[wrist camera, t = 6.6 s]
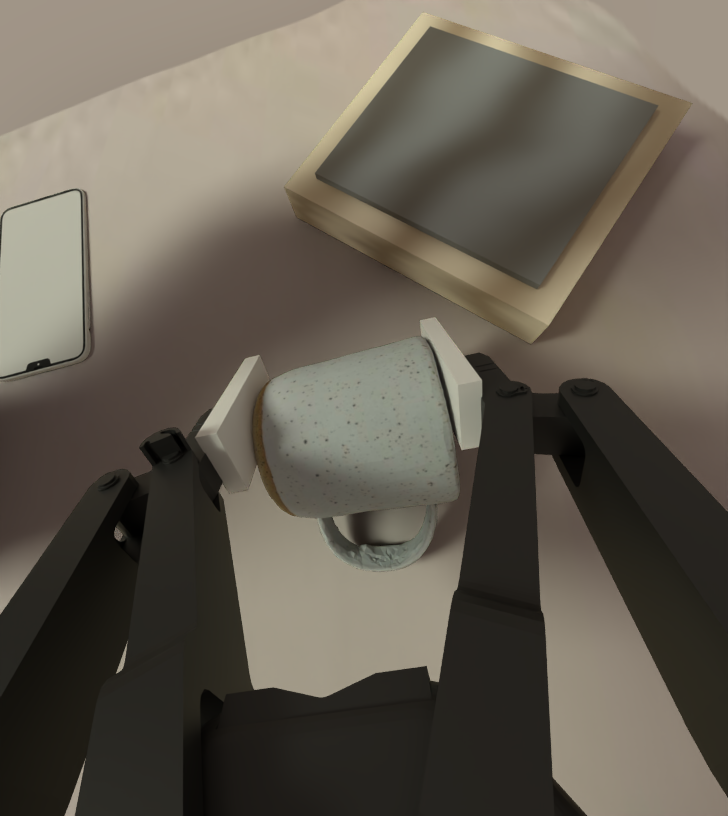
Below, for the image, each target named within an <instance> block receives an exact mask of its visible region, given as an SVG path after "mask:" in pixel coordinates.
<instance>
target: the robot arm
mask: <svg viewBox="0 0 728 816" xmlns="http://www.w3.org/2000/svg"><path fill="white" fill-rule="evenodd" d="M420 329H421V337H424V338H425V340H426V341H427V343H428V345H429V346H430V348H431V350H432V353H433V356H434V359H435V363H436V367H437V371H438V375H439V379H440V382H441V386H442V389H443V394H444V397H445V400H446V406H447V410H448V414H449V419H450V423H451V426H452V430H453V432H454V434H455V436H456V438H457V440H458V443H459V445H460V447H461V449H462V450H466V449H471V448H476V447H479V449H478V456H477V463H476V470H475V477H474V483H473V490H472V497H471V504H470V511H469V517H468V524H467V531H466V538H465V545H464V551H463V558H462V565H461V572H460V579H459V584H458V588H457V590H456V591H455V592H454V595H453V598H452V604H451V609H450V615H449V621H448V628H447V634H446V640H445V647H444V653H443V659H442V666H441V672H440V679H439V682H435V681H430V678H429V674H428V670H427V666H424V667H417V668H410V669H402V670H395V671H388V672H381V673H375V674H373V675H371V676H369V677H367V678H365V679H363V680H361V681H358V682H356V683H354V684H352V685H350V686H348V687H346V688H344V689H342V690H340V691H338V692H336V693H333V694H331V695H329V696H327V697H323V698H319V697H314V696H309V695H305V694H300V693H296V692H291V691H287V690H282V689H278V688H266V689H259V690H254V689H253V686H252V683H251V679H250V674H249V668H248V661H247V654H246V648H245V641H244V634H243V627H242V621H241V614H240V607H239V601H238V594H237V587H236V580H235V574H234V567H233V560H232V553H231V547H230V540H229V533H228V527H227V520H226V513H225V506H224V500H223V498H222V496H221V495H220V493H219V489H220V487H221V485H222V483H223V485H224V486H225V488H226V489H227V491H228V493H235V492H240V491H245V490H248V489H249V486H250V483H251V480H252V477H253V474H254V471H255V468H256V465H257V461H256V458H255V452H254V445H253V436H252V420H253V412H254V408H255V404H256V400H257V397H258V395H259V393H260V391H261V389H262V388H263V387H264V385H265V384H266V383H267V382H269V381H270V379H269V376H268V374H267V371H266V369H265V366H264V364H263V361H262V359H261V357H260V355H257V356H253V357H248V358H245V360H244V361H243V363H242V364H241V366H240V367H239V369H238V371H237V372H236V374H235V375H234V377H233V378H232V380H231V382H230V383H229V385H228V386H227V388H226V390H225V391H224V393H223V394H222V396H221V397H220V399H219V401H218V402H217V404H216V405H215V407H214V408H213V409H209V410H208V411H207V412H206V413H205V414H204V415H202V416H201V417H200V419H199V420H198V422H197V423H196V426H194V428H193V429H192V432H190V434H189V435H188V437H187V438H186V439H185V438H184V436H183V435H182V433H181V431H180V430H179V429H178V428H167V429H164V430H161V431H159V432H157V433H155V434H153V435H151V436H150V437H148V438H147V439H146V440H145V441H144V442H143V443H142V444H141V445H140V447H139V448H140V450H141V451H142V452H143V454H144V455H145V456H146V458H147V459H148V460H149V462H150V463H151V465H152V466H153V467H152V471H150V472H148V473H145V474H143V475H140V476H137V477H135V478H134V477H133V476H132V474H131V473H130V472H129V471H128V470H126V469H120V470H116V471H113V472H110V473H107V474H105V476H104V475H103V476H102V477H100V478H99V480H97V481H96V482H95V483H93V485H92V486H91V487H90V488H89V489H88V490H87V492H86V493H85V495H84V496H83V498H82V499H81V500H80V502H79V503H78V505H77V506H76V507H75V509H74V510H73V512H72V513H71V515H70V516H69V517H68V519H67V520H66V522H65V523H64V525H63V526H62V527H61V529H60V530H59V532H58V533H57V535H56V536H55V537H54V539H53V540H52V542H51V543H50V545H49V546H48V547H47V549H46V550H45V552H44V553H43V555H42V556H41V557H40V559H39V560H38V562H37V563H36V565H35V566H34V567H33V569H32V570H31V572H30V573H29V575H28V576H27V577H26V579H25V580H24V582H23V583H22V585H21V586H20V587H19V589H18V590H17V592H16V593H15V595H14V596H13V597H12V599H11V600H10V602H9V603H8V605H7V606H6V607H5V609H4V610H3V612H2V613H1V615H0V816H64V815H65V813H66V810H67V808H68V805H69V803H70V800H71V797H72V794H73V792H74V789H75V786H76V783H77V781H78V778H79V775H80V772H81V769H82V767H83V764H84V761H85V765H84V771H83V776H82V781H81V786H80V792H79V797H78V802H77V807H76V813H75V816H587V815H586V814H585V813H584V812H583V811H582V810H581V808H580V807H579V806H578V805H577V804H576V803H575V802H574V801H573V800H572V798H571V797H570V796H569V795H568V794H567V793H566V792H565V791H564V790H563V789H562V787H561V786H560V785H559V784H558V783H557V782H556V781H555V780H554V779H553V777H552V758H551V738H550V718H549V697H548V677H547V657H546V637H545V623H544V616H543V613H542V611H541V606H540V585H539V561H538V537H537V512H536V488H535V464H534V454H545V455H552V457H553V459H554V461H555V463H556V465H557V467H558V469H559V471H560V473H561V475H562V477H563V479H564V481H565V483H566V485H567V487H568V489H569V491H570V493H571V495H572V497H573V499H574V501H575V503H576V505H577V507H578V509H579V511H580V513H581V515H582V517H583V519H584V521H585V523H586V525H587V527H588V529H589V531H590V533H591V535H592V537H593V539H594V541H595V543H596V545H597V547H598V549H599V551H600V553H601V555H602V557H603V559H604V561H605V563H606V565H607V567H608V569H609V571H610V573H611V575H612V577H613V580H614V582H615V584H616V586H617V588H618V590H619V592H620V594H621V596H622V598H623V600H624V602H625V604H626V606H627V608H628V610H629V612H630V614H631V616H632V618H633V620H634V622H635V624H636V626H637V628H638V630H639V632H640V634H641V636H642V638H643V640H644V642H645V644H646V646H647V648H648V650H649V652H650V654H651V656H652V658H653V660H654V662H655V664H656V666H657V668H658V670H659V672H660V674H661V676H662V678H663V680H664V682H665V684H666V686H667V688H668V690H669V692H670V694H671V696H672V698H673V700H674V702H675V704H676V706H677V708H678V710H679V712H680V714H681V716H682V718H683V720H684V722H685V724H686V726H687V728H688V730H689V732H690V734H691V736H692V737H693V739H694V741H695V743H696V745H697V746H698V748H699V750H700V752H701V754H702V756H703V757H704V759H705V761H706V763H707V765H708V767H709V768H710V770H711V772H712V773H713V775H714V777H715V778H716V780H717V781H718V783H719V784H720V786H721V788H722V789H723V791H724V792H725V794H726V795H727V797H728V512H727V511H726V510H725V509H724V508H723V507H722V506H721V504H720V503H719V502H718V501H717V500H716V499H715V498H714V497H713V496H712V495H711V494H710V493H709V492H708V491H707V490H706V489H705V488H704V486H703V485H702V484H701V483H700V482H699V481H698V480H697V479H696V478H695V477H694V476H693V475H692V474H691V473H690V472H689V471H688V470H687V468H686V467H685V466H684V465H683V464H682V463H681V462H680V461H679V460H678V459H677V458H676V457H675V456H674V455H673V454H672V453H671V452H670V450H669V449H668V448H667V447H666V446H665V445H664V444H663V443H662V442H661V441H660V440H659V439H658V438H657V437H656V436H655V435H654V434H653V432H652V431H651V430H650V429H649V428H648V427H647V426H646V425H645V424H644V423H643V422H642V421H641V420H640V419H639V418H638V417H637V416H636V414H635V413H634V412H633V411H632V410H631V409H630V408H629V407H628V406H627V405H626V404H625V403H624V402H623V401H622V400H621V399H620V398H619V396H618V395H617V394H616V393H615V392H614V391H613V390H612V389H611V388H610V387H609V386H607V385H606V384H604V383H602V382H599V381H597V380H593V379H587V378H582V379H573V380H568V381H566V382H564V383H562V384H561V386H560V387H559V393H556V394H538V393H532V392H531V389H530V387H528V386H527V385H525V384H523V383H520V382H515V381H510V380H509V379H508V377H507V376H506V375H505V374H504V373H503V372H502V371H501V370H500V369H499V368H498V366H497V365H496V364H494V362H493V361H492V360H491V358H490V357H488V356H486V355H484V354H481V353H476V354H471V355H466V356H464V355H463V354H462V353H461V351H460V350H459V349H458V347H457V346H456V344H455V343H454V342H453V340H452V339H451V338H450V336H449V335H448V334H447V332H446V331H445V330H444V328H443V327H442V326H441V324H440V323H439V322H438V320H437V319H436V318H435V317H433V318H428V319H424V320H420ZM115 527H117V528H118V529H119V531H120V532H121V533H122V534H123V536H122V538H121V540H120V541H118V540H117V539H116V538H115V537H114V531H115ZM127 641H128V644H127ZM126 644H127V651H126V658H125V663H124V667H123V669H122V671H120V672H119V673H117V674H116V672H117V669H118V666H119V663H120V661H121V658H122V655H123V652H124V650H125V647H126ZM85 758H86V760H85Z"/></svg>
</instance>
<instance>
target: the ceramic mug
mask: <svg viewBox="0 0 728 816" xmlns="http://www.w3.org/2000/svg"><path fill="white" fill-rule="evenodd" d="M252 436H253V445H254V452H255V458H256V461H257V465H258V468H259V472H260V475H261V478H262V481H263V483H264V486H265V488H266V490H267V492H268V493H269V495H270V497H271V498H272V499H273V500H274V502H275V503H276V504H277V505H278V506H279V507H280V509H282V510H283V511H285V512H287V513H288V514H290V515H293V516H297V517H305V518H317V519H318V525H319V527H320V532H321V534H322V536H323V538H324V541H325V543H326V544H327V545H328V547H329V548H330V550H331V551H332V552H333V554H334V555H335V556H336V557H337V558H339V559H340V560H342V561H343V562H345V563H346V564H348V565H350V566H353V567H355V568H357V569H361V570H365V571H373V572H386V571H394V570H399V569H402V568H405V567H407V566H409V565H411V564H413V563H414V562H416V561H417V560H418V559H419V558H420V557H421V556H422V554H423V553H424V552H425V551H426V549H427V548H428V546H429V544H430V542H431V541H432V538H433V535H434V531H435V527H436V523H437V504H441V503H447V502H451V501H454V500H456V499H458V496H459V494H460V481H459V472H458V462H457V458H456V451H455V444H454V439H453V434H452V426H451V423H450V419H449V414H448V410H447V406H446V400H445V397H444V394H443V389H442V386H441V382H440V379H439V375H438V371H437V367H436V363H435V359H434V356H433V353H432V350H431V348H430V346H429V345H428V343H427V341H426V340H425V338H424V337H420V336H416V337H412V338H408V339H405V340H402V341H398V342H394V343H391V344H388V345H384V346H380V347H376V348H372V349H368V350H364V351H361V352H357V353H353V354H349V355H345V356H343V357H339V358H335V359H331V360H328V361H325V362H321V363H317V364H312V365H308V366H304V367H301V368H297V369H294V370H291V371H288V372H286V373H284V374H282V375H280V376H278V377H276V378H274V379H272V380H270V381H269V382H267V383H266V384H265V385H264V387H263V388H262V389H261V391H260V393H259V395H258V397H257V400H256V404H255V408H254V412H253V420H252ZM420 505H427V508H426V515H425V519H424V522H423V526H422V527H421V529H420V531H419V533H418V534H417V535H416V536H415V538H413V539H412V540H410V541H407V542H405V543H404V544H399V545H387V546H370V545H367V544H364V545H361V546H358V545H356V544H354V543H352V542H350V541H349V540H348V539H346V538H345V537H344V536H343V535H342V534H341V533H340V531H339V530H338V527H337V526H336V525H335V523H334V520H333V518H332V517H335V516H343V515H348V514H354V513H359V512H365V511H375V510H385V509H395V508H404V507H411V506H420Z"/></svg>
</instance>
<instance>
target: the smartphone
mask: <svg viewBox="0 0 728 816" xmlns="http://www.w3.org/2000/svg"><path fill="white" fill-rule="evenodd" d="M90 328H91V327H90V292H89V274H88V243H87V212H86V195H85V193H84V192H83V191H82V190H81V189H77V188H75V189H70V190H67V191H63V192H60V193H57V194H54V195H50V196H47V197H44V198H40V199H37V200H34V201H30V202H27V203H24V204H20V205H17V206H14V207H11V208H9V209H7V210H6V211H4V212H3V214H2V215H1V218H0V381H4V382H9V381H13V380H17V379H20V378H24V377H28V376H32V375H35V374H39V373H43V372H47V371H50V370H54V369H58V368H62V367H65V366H69V365H73V364H76V363H79V362H82V361H83V360H85V359H86V358H87V356H88V355H89V353H90V349H91V336H90V332H89V329H90Z"/></svg>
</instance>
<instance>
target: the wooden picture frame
mask: <svg viewBox="0 0 728 816" xmlns="http://www.w3.org/2000/svg"><path fill="white" fill-rule="evenodd" d="M691 105H692V103H690V102H687V101H684V100H681V99H678V98H675V97H672V96H669V95H666V94H663V93H660V92H657V91H654V90H652V89H649V88H646V87H643V86H640V85H637V84H634V83H631V82H628V81H625V80H622V79H619V78H616V77H613V76H610V75H607V74H604V73H601V72H598V71H595V70H592V69H589V68H587V67H584V66H581V65H578V64H575V63H572V62H569V61H566V60H563V59H560V58H557V57H554V56H551V55H548V54H545V53H542V52H539V51H536V50H533V49H530V48H527V47H524V46H522V45H519V44H516V43H513V42H510V41H507V40H504V39H501V38H498V37H495V36H492V35H489V34H486V33H483V32H480V31H477V30H474V29H471V28H468V27H465V26H462V25H459V24H457V23H454V22H451V21H448V20H445V19H442V18H439V17H436V16H433V15H430V14H427V13H424V12H423V13H422V14H421V15H420V16H419V18H418V19H417V20H416V22H415V23H414V24H413V25H412V27H411V28H410V29H409V30H408V32H407V33H406V34H405V35H404V37H403V38H402V39H401V40H400V42H399V43H398V44H397V45H396V47H395V48H394V49H393V50H392V52H391V53H390V54H389V55H388V57H387V58H386V59H385V61H384V62H383V63H382V64H381V66H380V67H379V68H378V69H377V71H376V72H375V73H374V74H373V76H372V77H371V78H370V79H369V81H368V82H367V83H366V84H365V86H364V87H363V88H362V89H361V91H360V92H359V93H358V94H357V96H356V97H355V98H354V100H353V101H352V102H351V103H350V105H349V106H348V107H347V108H346V110H345V111H344V112H343V113H342V115H341V116H340V117H339V118H338V120H337V121H336V122H335V123H334V125H333V126H332V127H331V128H330V130H329V131H328V132H327V133H326V135H325V136H324V137H323V139H322V140H321V141H320V142H319V144H318V145H317V146H316V147H315V149H314V150H313V151H312V152H311V154H310V155H309V156H308V157H307V159H306V160H305V161H304V162H303V164H302V165H301V166H300V167H299V169H298V170H297V171H296V172H295V174H294V175H293V176H292V178H291V179H290V180H289V181H288V183H287V184H286V185H285V186H284V188H285V190H286V193H287V195H288V198H289V200H290V203H291V205H292V207H293V210H294V212H295V215H296V217H297V218H299V219H301V220H303V221H305V222H307V223H308V224H310V225H312V226H314V227H316V228H318V229H319V230H321V231H323V232H325V233H327V234H329V235H330V236H332V237H334V238H336V239H338V240H340V241H342V242H343V243H345V244H347V245H349V246H351V247H353V248H354V249H356V250H358V251H360V252H362V253H364V254H365V255H367V256H369V257H371V258H373V259H375V260H377V261H378V262H380V263H382V264H384V265H386V266H388V267H389V268H391V269H393V270H395V271H397V272H399V273H400V274H402V275H404V276H406V277H408V278H410V279H411V280H413V281H415V282H417V283H419V284H421V285H423V286H424V287H426V288H428V289H430V290H432V291H434V292H435V293H437V294H439V295H441V296H443V297H445V298H446V299H448V300H450V301H452V302H454V303H456V304H458V305H459V306H461V307H463V308H465V309H467V310H469V311H470V312H472V313H474V314H476V315H478V316H480V317H481V318H483V319H485V320H487V321H489V322H491V323H493V324H494V325H496V326H498V327H500V328H502V329H504V330H505V331H507V332H509V333H511V334H513V335H515V336H516V337H518V338H520V339H522V340H524V341H526V342H528V343H529V344H532V343H533V342H534V341H535V340H536V338H537V337H538V336H539V335H540V334H541V333H542V332H543V331H544V330H545V329H546V328H547V327H548V326H549V325H550V323H551V321H552V320H553V318H554V317H555V315H556V314H557V312H558V311H559V309H560V308H561V306H562V304H563V303H564V301H565V300H566V298H567V297H568V295H569V294H570V292H571V291H572V289H573V287H574V286H575V284H576V283H577V281H578V280H579V278H580V277H581V275H582V273H583V272H584V270H585V269H586V267H587V266H588V264H589V263H590V261H591V260H592V258H593V256H594V255H595V253H596V252H597V250H598V249H599V247H600V246H601V244H602V243H603V241H604V239H605V238H606V236H607V235H608V233H609V232H610V230H611V229H612V227H613V225H614V224H615V222H616V221H617V219H618V218H619V216H620V215H621V213H622V212H623V210H624V208H625V207H626V205H627V204H628V202H629V201H630V199H631V198H632V196H633V195H634V193H635V191H636V190H637V188H638V187H639V185H640V184H641V182H642V181H643V179H644V178H645V176H646V174H647V173H648V171H649V170H650V168H651V167H652V165H653V164H654V162H655V160H656V159H657V157H658V156H659V154H660V153H661V151H662V150H663V148H664V147H665V145H666V143H667V142H668V140H669V139H670V137H671V136H672V134H673V133H674V131H675V130H676V128H677V126H678V125H679V123H680V122H681V120H682V119H683V117H684V116H685V114H686V113H687V111H688V109H689V108H690V106H691Z"/></svg>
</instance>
